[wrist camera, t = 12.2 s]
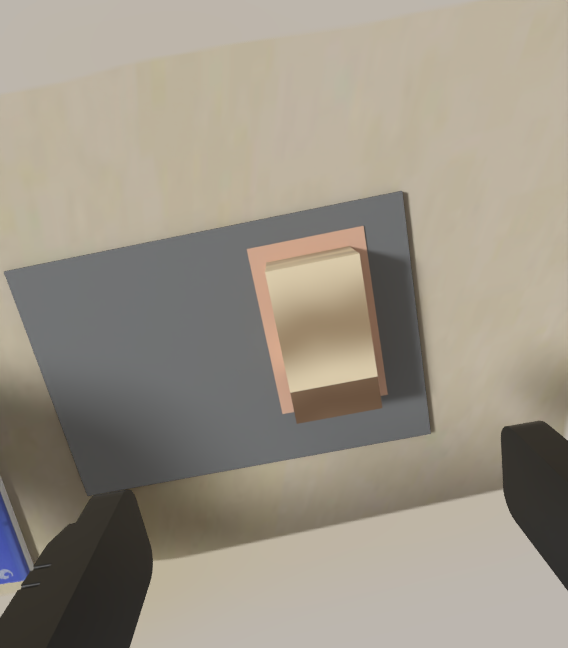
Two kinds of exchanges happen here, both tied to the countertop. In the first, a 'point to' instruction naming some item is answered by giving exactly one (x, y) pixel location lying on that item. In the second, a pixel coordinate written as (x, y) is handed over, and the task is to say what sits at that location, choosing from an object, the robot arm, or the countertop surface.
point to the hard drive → (12, 544)
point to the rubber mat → (212, 347)
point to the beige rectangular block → (324, 333)
